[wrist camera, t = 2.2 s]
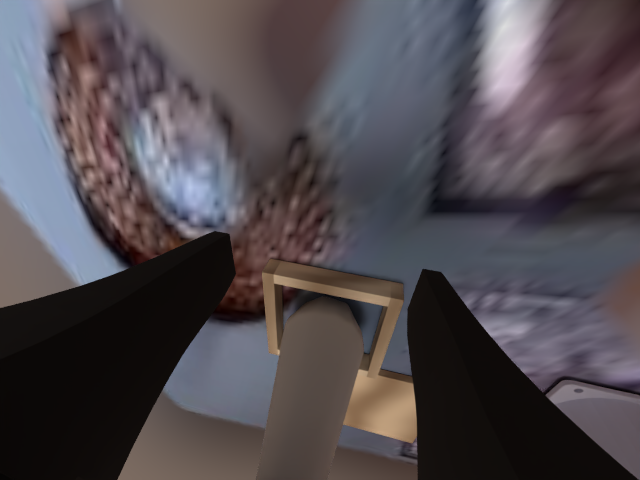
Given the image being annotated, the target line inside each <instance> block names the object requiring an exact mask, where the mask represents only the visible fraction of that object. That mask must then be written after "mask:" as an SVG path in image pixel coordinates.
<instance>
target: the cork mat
mask: <svg viewBox="0 0 640 480" xmlns="http://www.w3.org/2000/svg"><path fill="white" fill-rule="evenodd" d="M343 424H344V425H348V426H351V427H355V428H359V429H362V430H366V431H370V432H373V433H377V434H380V435H384V436H388V437H391V438H395V439H399V440H402V441H406V442H410V443H413V441H414V440H415V438H416V437H417V417H416V405H415V395H414V387H413V379H412V377H411V376H407V375H403V374H398V373H394V372H390V371H386V370H382V369H380V371H379V373H378V376H377V379H373V378H369V377H365V376H361V375H357V377H356V381H355V384H354V388H353V391H352V395H351V398H350V402H349V405H348V409H347V412H346V416H345V419H344V423H343Z"/></svg>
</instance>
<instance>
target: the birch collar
mask: <svg viewBox="0 0 640 480" xmlns="http://www.w3.org/2000/svg"><path fill="white" fill-rule="evenodd" d="M262 278H263V289H264V301H265V313H266V324H267V336H268V347H269V353H272V354H276V355H279V354H280V348H281V342H282V336H283V305H282V285H284V286H289V287H294V288H299V289H304V290H309V291H314V292H319V293H323V294H328V295H333V296H338V297H343V298H348V299H353V300H358V301H363V302H368V303H372V304H377V305H382V306H383V309H382V313H381V316H380V320H379V323H378V326H377V330H376V333H375V337H374V340H373V344H372V347H371V350H370V354H364V353H363V356H362V360H361V363H360V367H359V370H358V374H357V375H361V376H365V377H369V378H373V379H377V376H378V373H379V371H380V368H381V365H382V362H383V359H384V356H385V353H386V351H387V348H388V345H389V342H390V339H391V336H392V333H393V331H394V328H395V325H396V322H397V319H398V316H399V313H400V311H401V308H402V305H403V302H404V293H403V284H401V283H396V282H391V281H385V280H380V279H375V278H369V277H364V276H359V275H354V274H348V273H343V272H338V271H333V270H327V269H322V268H317V267H312V266H306V265H301V264H296V263H291V262H285V261H280V260H275V259H270V260H269V262H268V263H267V265H266V267H265V268H264V270H263V271H262Z"/></svg>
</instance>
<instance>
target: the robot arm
mask: <svg viewBox="0 0 640 480" xmlns="http://www.w3.org/2000/svg"><path fill="white" fill-rule="evenodd" d="M235 275H236V272H235V266H234V260H233V253H232V247H231V241H230V235H229V234H227V233H222V232H216V231H214V232H211V233H209V234H206V235H204V236H202V237H199V238H197V239H195V240H193V241H190V242H188V243H186V244H184V245H182V246H179V247H177V248H175V249H173V250H171V251H169V252H166V253H164V254H162V255H160V256H157V257H155V258H153V259H150V260H148V261H146V262H143V263H141V264H138V265H136V266H134V267H131V268H129V269H126V270H124V271H121V272H119V273H116V274H113V275H111V276H108V277H105V278H102V279H99V280H96V281H94V282H91V283H88V284H85V285H82V286H79V287H75V288H72V289H69V290H65V291H62V292H58V293H55V294H52V295H48V296H45V297H41V298H38V299H34V300H31V301H27V302H23V303H19V304H15V305H11V306H7V307H4V308H0V480H117V479H118V477H119V475H120V473H121V470H122V468H123V466H124V464H125V462H126V460H127V458H128V456H129V453H130V451H131V449H132V447H133V445H134V443H135V441H136V439H137V437H138V435H139V433H140V431H141V429H142V427H143V425H144V424H145V422H146V420H147V418H148V416H149V414H150V412H151V410H152V408H153V406H154V404H155V403H156V401H157V398H158V397H159V395H160V393H161V392H162V390H163V388H164V386H165V384H166V382H167V381H168V379H169V377H170V376H171V374H172V372H173V370H174V369H175V367H176V365H177V364H178V362H179V360H180V358H181V357H182V355H183V354H184V352H185V351H186V349H187V348H188V346H189V345H190V343H191V342H192V340H193V339H194V338H195V336H196V335H197V334H198V332H199V331H200V329H201V328H202V327H203V325H204V324H205V322H206V321H207V320H208V318H209V317H210V316H211V314H212V313H213V311H214V310H215V309H216V307H217V306H218V304H219V303H220V301H221V300H222V299H223V297H224V296H225V294H226V292H227V290H228V288H229V287H230V285H231V283H232V281H233V279H234V277H235ZM407 336H408V346H409V354H410V363H411V371H412V379H413V387H414V395H415V405H416V417H417V452H418V480H640V395H636V394H631V393H627V392H622V391H618V390H613V389H609V388H604V387H600V386H595V385H591V384H586V383H582V382H577V381H573V380H563V381H561V382H560V383H558V384H557V385H556V386H555V387H554V388H553V389H552V390H551V391H549V392H548V393H547V394H546V395H544V394H543V392H542V391H541V390H540V389H539V388H538V387H537V386H536V385H535V384H534V383H533V382H532V381H531V380H530V379H529V378H528V377H527V376H526V375H525V374H524V373H523V372H522V371H521V370H520V369H519V368H518V367H517V366H516V365H515V364H514V362H513V361H512V360H511V359H510V358H509V357H508V356H507V355H506V354H505V352H504V351H503V350H502V349H501V348H500V347H499V346H498V344H497V343H496V342H495V341H494V340H493V339H492V338H491V336H490V335H489V334H488V333H487V332H486V330H485V329H484V328H483V327H482V325H481V324H480V323H479V322H478V320H477V319H476V318H475V317H474V315H473V314H472V313H471V312H470V310H469V309H468V308H467V306H466V305H465V304H464V302H463V301H462V300H461V298H460V297H459V296H458V294H457V293H456V292H455V290H454V289H453V287H452V286H451V285H450V283H449V282H448V281H447V279H446V278H445V276H444V275H443V274H442V273H441V272H438V271H432V270H427V269H422V272H421V275H420V277H419V280H418V283H417V285H416V288H415V291H414V293H413V296H412V299H411V301H410V304H409V307H408V317H407Z"/></svg>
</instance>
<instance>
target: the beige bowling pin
mask: <svg viewBox="0 0 640 480" xmlns="http://www.w3.org/2000/svg"><path fill="white" fill-rule="evenodd" d="M363 353H364V344H363V338H362V332H361V330H360V328H359V326H358V324H357V322H356V320H355V318H354V316H353V314H352V312H351V310H350V308H349V306H348V304H347V303H344V302H341V301H338V300H336V299H333V298H330V297H327V296H322V297H319V298H316V299H314V300H311V301H309V302H306V303H305V304H304V305H303V306H301V307H300V308H299V309H298V310H297V311H296V312H295V313H294V314H293V315H291V316H290V317H289V319H288V320H287V322H286V324H285V327H284V331H283V336H282V342H281V348H280V354H279V360H278V366H277V371H276V377H275V382H274V387H273V392H272V398H271V403H270V408H269V414H268V419H267V424H266V429H265V435H264V440H263V445H262V451H261V456H260V461H259V466H258V472H257V477H256V480H327V478H328V475H329V471H330V467H331V464H332V461H333V457H334V454H335V450H336V447H337V443H338V440H339V436H340V433H341V429H342V426H343V423H344V419H345V416H346V412H347V409H348V405H349V402H350V398H351V395H352V391H353V388H354V384H355V381H356V377H357V374H358V370H359V367H360V363H361V360H362V356H363Z"/></svg>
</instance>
